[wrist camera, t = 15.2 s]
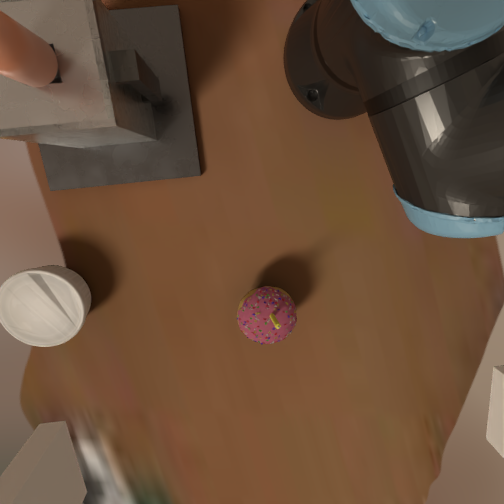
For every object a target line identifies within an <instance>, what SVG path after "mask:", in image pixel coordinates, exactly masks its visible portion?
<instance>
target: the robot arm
mask: <svg viewBox="0 0 504 504" xmlns="http://www.w3.org/2000/svg"><path fill="white" fill-rule="evenodd" d="M284 68H285V73H286V77H287V81H288V83H289V86H290V88H291V90H292V92H293V93H294V95H295V97H296V98H297V99H298V100H299V102H300V103H301V104H302V105H303V106H304V107H306V108H307V109H308V110H309V111H311V112H313V113H314V114H316V115H318V116H321V117H324V118H328V119H336V120H340V119H348V118H352V117H356V116H358V115H361V114H363V113H365V112H367V113H368V117H369V119H370V122H371V125H372V127H373V130H374V133H375V135H376V138H377V141H378V143H379V146H380V149H381V151H382V154H383V157H384V159H385V162H386V165H387V167H388V170H389V172H390V175H391V178H392V180H393V183H394V184H393V190H394V193H395V195H396V196H397V197H398V199H399V200H400V201H401V203H402V206H403V208H404V210H405V213H406V215H407V217H408V219H409V220H410V221H411V222H412V223H413V224H414V225H415V226H416V227H418V228H419V229H421V230H423V231H425V232H427V233H430V234H433V235H438V236H443V237H451V238H478V237H487V236H494V235H499V234H502V233H503V231H504V0H307V1H306V2H305V3H304V4H303V5H302V7H301V8H300V9H299V11H298V12H297V14H296V16H295V18H294V20H293V22H292V24H291V27H290V29H289V32H288V34H287V38H286V42H285V47H284ZM486 439H487V440H488V441H489V443H490V444H491V445H492V446H493V447H494V448H495V449H496V450H497V451H498V452H499V453H500V454H501V456H502V457H503V458H504V365H502V366H494V367H493V377H492V386H491V396H490V406H489V415H488V424H487V434H486ZM86 493H87V490H86V487H85V484H84V480H83V477H82V474H81V471H80V467H79V464H78V461H77V457H76V454H75V451H74V448H73V444H72V441H71V438H70V434H69V431H68V428H67V425H66V421H60V422H52V423H45V424H39V425H38V427H37V428H36V429H35V431H34V432H33V434H32V435H31V436H30V437H29V439H28V440H27V441H26V443H25V444H24V445H23V447H22V448H21V450H20V451H19V452H18V454H17V455H16V456H15V458H14V459H13V460H12V462H11V463H10V465H9V466H8V467H7V468H6V470H5V471H4V472H3V474H2V475H1V476H0V504H82V502H83V500H84V498H85V495H86Z"/></svg>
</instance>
